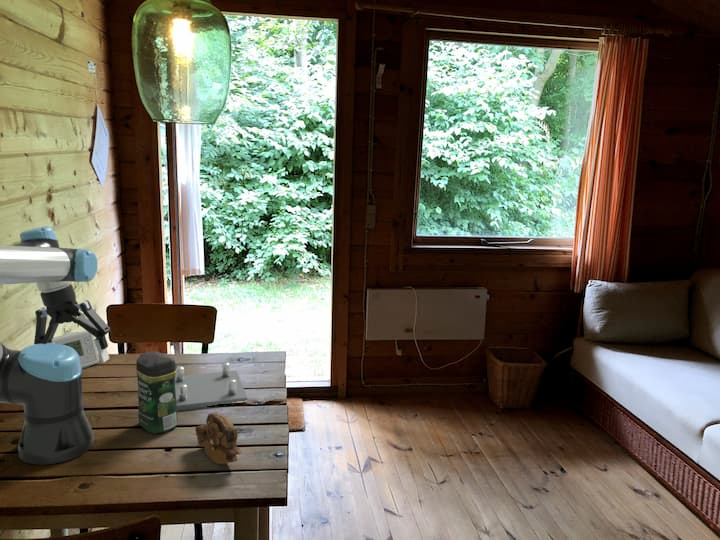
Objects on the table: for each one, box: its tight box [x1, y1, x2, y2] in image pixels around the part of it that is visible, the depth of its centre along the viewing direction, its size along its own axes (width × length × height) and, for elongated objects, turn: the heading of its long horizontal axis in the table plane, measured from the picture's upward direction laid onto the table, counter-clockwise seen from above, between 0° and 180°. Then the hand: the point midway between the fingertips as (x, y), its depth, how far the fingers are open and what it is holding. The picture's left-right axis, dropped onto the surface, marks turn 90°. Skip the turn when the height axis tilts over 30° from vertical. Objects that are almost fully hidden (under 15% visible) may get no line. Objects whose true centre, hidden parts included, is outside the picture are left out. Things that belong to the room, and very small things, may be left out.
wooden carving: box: [194, 412, 242, 465], centre depth 127 cm, size 16×5×10 cm, turn 48°
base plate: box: [175, 361, 248, 412], centre depth 161 cm, size 20×20×6 cm
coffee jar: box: [135, 350, 179, 434], centre depth 140 cm, size 10×8×19 cm
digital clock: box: [51, 329, 100, 370], centre depth 173 cm, size 16×9×11 cm, turn 134°
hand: (81, 364), depth 150 cm, fingers open, 13 cm apart
